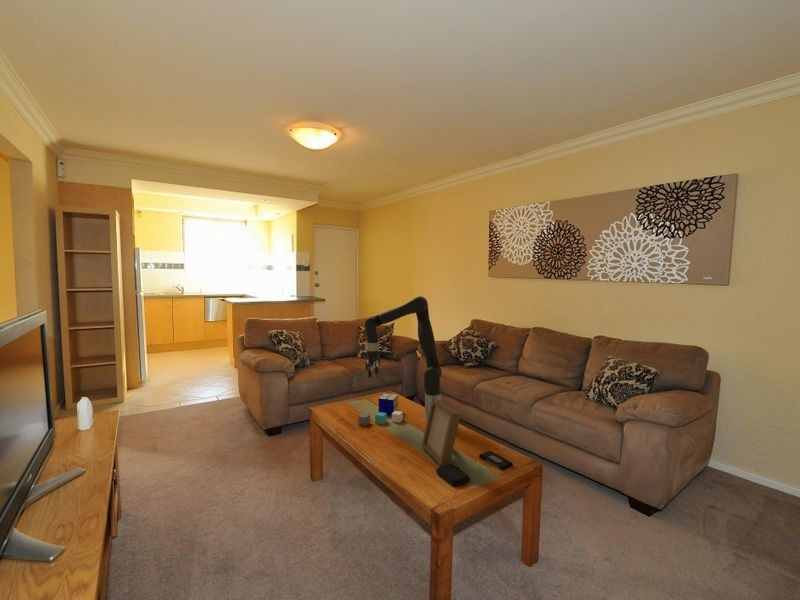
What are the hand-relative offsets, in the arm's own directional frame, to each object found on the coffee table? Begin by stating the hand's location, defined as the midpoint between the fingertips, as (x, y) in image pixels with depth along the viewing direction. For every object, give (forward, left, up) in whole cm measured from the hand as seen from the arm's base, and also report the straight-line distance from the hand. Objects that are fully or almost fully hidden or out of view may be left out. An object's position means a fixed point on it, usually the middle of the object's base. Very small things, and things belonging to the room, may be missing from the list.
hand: (373, 375), depth 243 cm
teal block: (-9, +7, -26) cm, 28 cm away
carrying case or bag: (-66, +50, -26) cm, 87 cm away
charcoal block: (-1, +13, -26) cm, 29 cm away
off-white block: (-17, +1, -26) cm, 31 cm away
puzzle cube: (-6, -10, -26) cm, 28 cm away
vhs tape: (-80, +29, -26) cm, 89 cm away
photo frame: (-56, +32, -26) cm, 69 cm away
